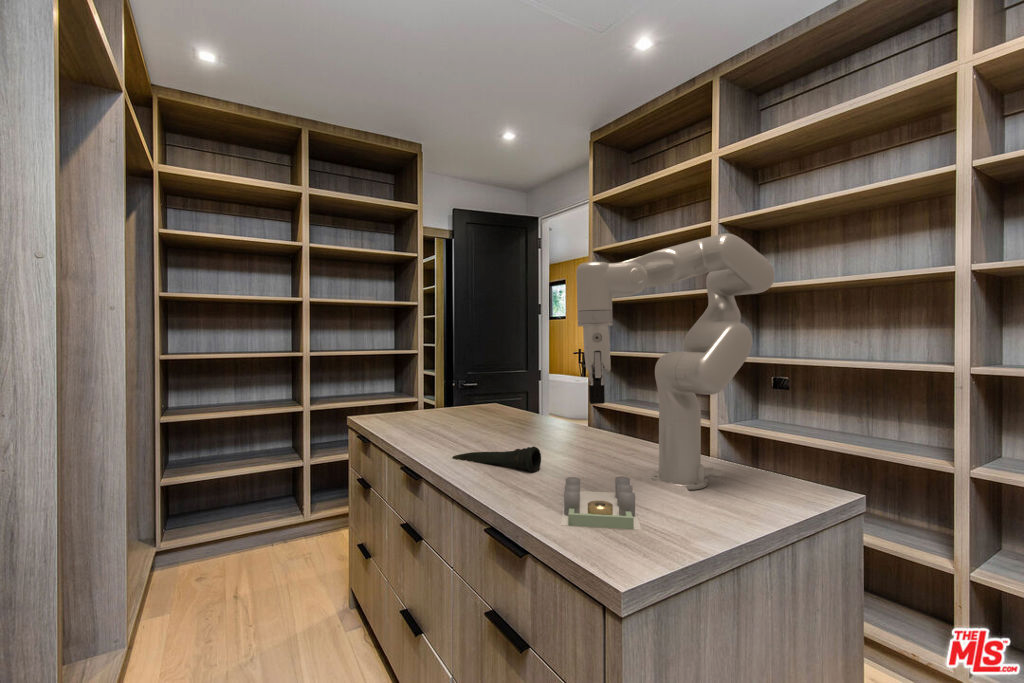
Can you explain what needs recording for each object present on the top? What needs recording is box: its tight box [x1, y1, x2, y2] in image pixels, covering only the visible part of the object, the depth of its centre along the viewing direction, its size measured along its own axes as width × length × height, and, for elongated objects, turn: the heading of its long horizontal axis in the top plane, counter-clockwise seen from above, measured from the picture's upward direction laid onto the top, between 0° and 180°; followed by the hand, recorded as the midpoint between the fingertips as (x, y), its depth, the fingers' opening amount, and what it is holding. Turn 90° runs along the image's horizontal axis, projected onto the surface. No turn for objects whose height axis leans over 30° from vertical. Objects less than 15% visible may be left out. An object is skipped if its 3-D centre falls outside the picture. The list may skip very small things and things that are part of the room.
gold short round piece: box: [588, 501, 613, 515], centre depth 89 cm, size 5×5×3 cm
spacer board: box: [560, 476, 642, 531], centre depth 95 cm, size 14×20×5 cm
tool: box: [452, 446, 542, 473], centre depth 133 cm, size 28×6×7 cm, turn 54°
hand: (596, 403), depth 105 cm, fingers closed
